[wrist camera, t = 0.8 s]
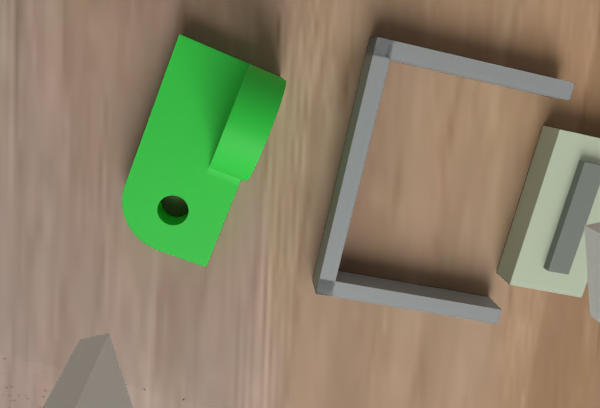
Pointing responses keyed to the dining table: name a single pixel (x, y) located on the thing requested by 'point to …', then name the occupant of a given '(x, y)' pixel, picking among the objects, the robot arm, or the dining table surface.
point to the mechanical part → (199, 147)
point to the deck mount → (529, 215)
